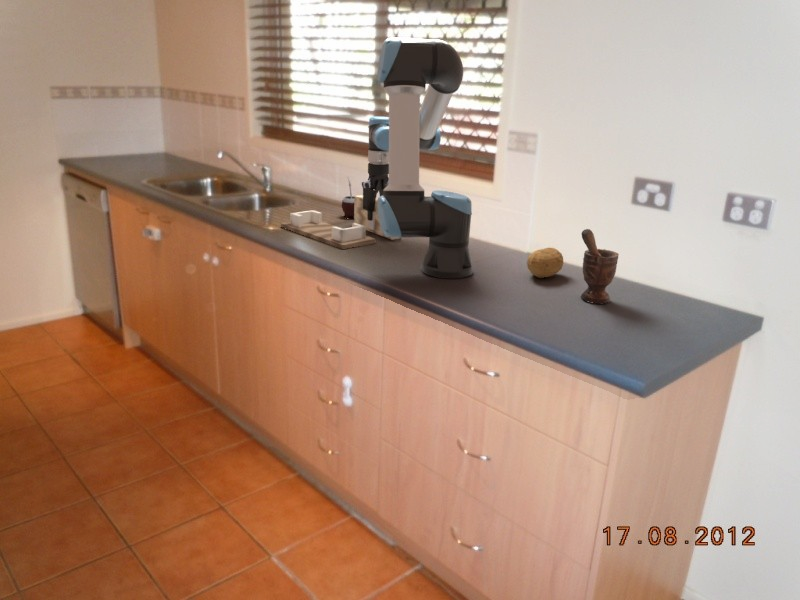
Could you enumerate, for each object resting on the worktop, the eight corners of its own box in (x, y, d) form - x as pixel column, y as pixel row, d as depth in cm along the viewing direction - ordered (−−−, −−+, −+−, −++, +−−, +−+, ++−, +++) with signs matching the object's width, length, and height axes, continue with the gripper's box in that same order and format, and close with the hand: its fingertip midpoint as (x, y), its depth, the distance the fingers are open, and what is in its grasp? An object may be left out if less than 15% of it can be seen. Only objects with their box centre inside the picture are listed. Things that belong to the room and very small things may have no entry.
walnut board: (375, 243, 224) (375, 238, 224) (342, 249, 215) (343, 245, 214) (312, 222, 249) (312, 218, 248) (280, 227, 239) (280, 223, 239)
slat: (401, 238, 232) (402, 207, 228) (392, 239, 229) (393, 208, 226) (362, 224, 250) (363, 195, 246) (354, 225, 247) (354, 195, 244)
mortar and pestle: (598, 310, 170) (610, 234, 163) (567, 302, 175) (577, 228, 168) (616, 300, 178) (627, 227, 172) (585, 292, 183) (595, 221, 177)
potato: (516, 278, 194) (518, 251, 191) (538, 268, 204) (541, 243, 201) (546, 285, 188) (549, 258, 185) (568, 275, 198) (571, 249, 196)
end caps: (365, 237, 224) (365, 226, 223) (342, 242, 218) (342, 230, 216) (312, 220, 245) (312, 210, 243) (290, 224, 238) (290, 213, 237)
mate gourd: (352, 220, 254) (353, 181, 249) (336, 217, 258) (336, 179, 253) (363, 217, 260) (364, 179, 255) (347, 214, 264) (348, 176, 259)
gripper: (366, 165, 223) (365, 233, 231) (404, 162, 234) (401, 227, 242) (352, 162, 228) (351, 229, 236) (390, 159, 239) (388, 223, 247)
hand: (376, 228), depth 239 cm, fingers closed on slat, 4 cm apart
